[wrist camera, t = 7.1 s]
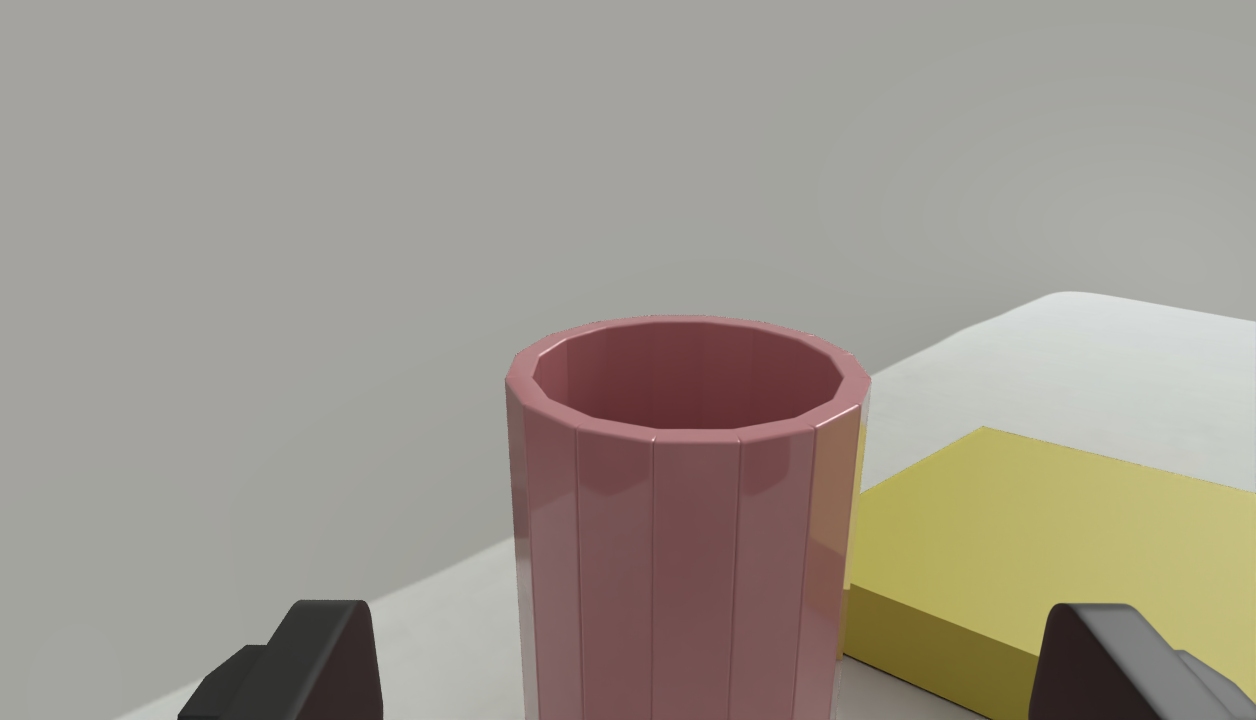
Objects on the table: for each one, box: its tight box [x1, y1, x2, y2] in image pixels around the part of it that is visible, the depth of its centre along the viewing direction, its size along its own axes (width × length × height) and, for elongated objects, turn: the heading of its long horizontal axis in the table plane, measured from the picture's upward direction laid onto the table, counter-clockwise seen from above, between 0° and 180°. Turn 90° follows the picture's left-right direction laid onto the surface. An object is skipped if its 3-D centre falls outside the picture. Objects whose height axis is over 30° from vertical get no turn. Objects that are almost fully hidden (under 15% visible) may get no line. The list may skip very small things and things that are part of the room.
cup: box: [505, 315, 872, 720], centre depth 15 cm, size 6×6×10 cm
